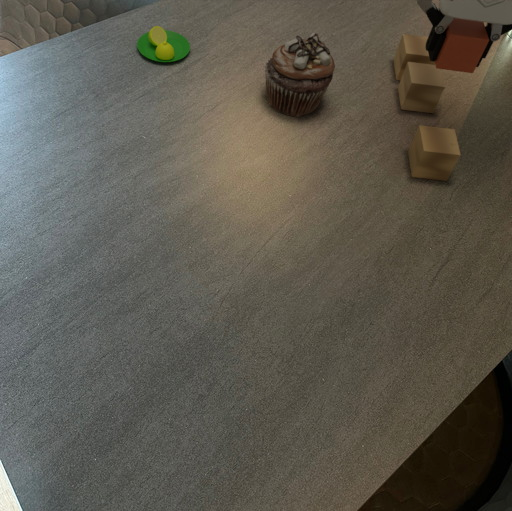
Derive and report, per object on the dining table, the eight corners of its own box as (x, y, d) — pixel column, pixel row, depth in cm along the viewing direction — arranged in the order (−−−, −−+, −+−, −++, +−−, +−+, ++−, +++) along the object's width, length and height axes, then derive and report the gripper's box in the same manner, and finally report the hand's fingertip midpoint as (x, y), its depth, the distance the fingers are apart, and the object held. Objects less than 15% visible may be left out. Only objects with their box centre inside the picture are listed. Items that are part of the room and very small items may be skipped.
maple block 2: (428, 92, 98) (440, 65, 94) (433, 113, 95) (445, 86, 91) (397, 88, 97) (407, 61, 93) (400, 109, 94) (411, 82, 90)
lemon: (125, 47, 95) (125, 30, 93) (163, 27, 99) (163, 11, 97) (163, 72, 93) (163, 56, 90) (200, 50, 97) (201, 34, 95)
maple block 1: (423, 64, 102) (433, 37, 98) (427, 84, 99) (438, 57, 95) (393, 60, 102) (402, 33, 98) (396, 80, 99) (406, 53, 95)
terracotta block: (466, 50, 84) (482, 17, 80) (473, 73, 81) (489, 40, 77) (430, 45, 84) (444, 11, 80) (435, 68, 81) (450, 34, 77)
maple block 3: (441, 155, 89) (454, 129, 85) (446, 181, 86) (460, 155, 82) (407, 151, 89) (419, 124, 85) (411, 177, 86) (423, 150, 82)
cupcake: (301, 71, 97) (313, 13, 89) (337, 110, 92) (354, 52, 84) (248, 87, 93) (256, 27, 85) (283, 128, 89) (296, 69, 81)
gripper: (444, -79, 65) (391, 67, 79) (600, -55, 66) (520, 84, 81) (434, -112, 69) (386, 32, 84) (581, -89, 71) (508, 49, 85)
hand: (452, 56), depth 82 cm, fingers closed on terracotta block, 5 cm apart
